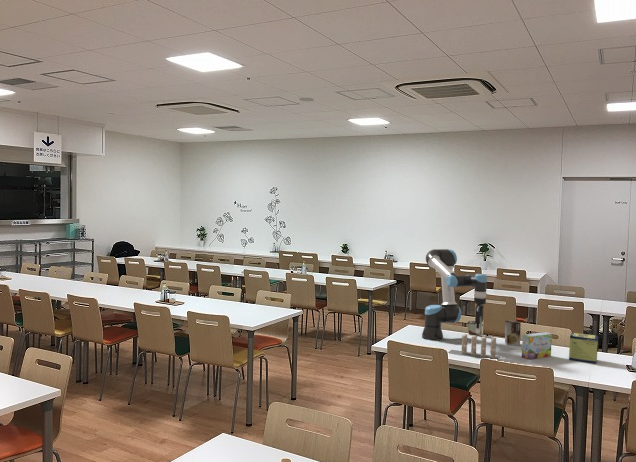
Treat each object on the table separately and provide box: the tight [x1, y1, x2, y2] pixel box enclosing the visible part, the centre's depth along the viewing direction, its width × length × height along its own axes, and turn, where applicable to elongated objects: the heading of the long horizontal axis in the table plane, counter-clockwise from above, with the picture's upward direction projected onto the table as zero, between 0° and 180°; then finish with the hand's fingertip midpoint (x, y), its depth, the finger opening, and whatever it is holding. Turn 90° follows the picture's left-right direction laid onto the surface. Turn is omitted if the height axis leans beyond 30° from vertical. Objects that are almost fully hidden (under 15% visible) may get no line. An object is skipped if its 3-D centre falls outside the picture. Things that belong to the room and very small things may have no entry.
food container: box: [466, 320, 484, 338], centre depth 395 cm, size 12×6×10 cm, turn 47°
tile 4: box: [461, 333, 468, 355], centre depth 338 cm, size 2×5×12 cm, turn 151°
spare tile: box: [476, 316, 482, 337], centre depth 350 cm, size 2×5×12 cm, turn 151°
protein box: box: [568, 332, 599, 365], centre depth 331 cm, size 10×16×16 cm
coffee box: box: [504, 320, 521, 346], centre depth 368 cm, size 9×6×16 cm
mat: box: [447, 349, 501, 361], centre depth 336 cm, size 31×11×1 cm, turn 61°
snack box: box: [521, 331, 553, 360], centre depth 335 cm, size 21×6×15 cm, turn 117°
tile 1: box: [490, 337, 497, 359], centre depth 330 cm, size 2×5×12 cm, turn 151°
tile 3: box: [470, 335, 478, 356], centre depth 336 cm, size 2×5×12 cm, turn 150°
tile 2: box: [480, 336, 487, 357], centre depth 333 cm, size 2×5×12 cm, turn 151°
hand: (478, 332), depth 350 cm, fingers closed on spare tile, 5 cm apart
